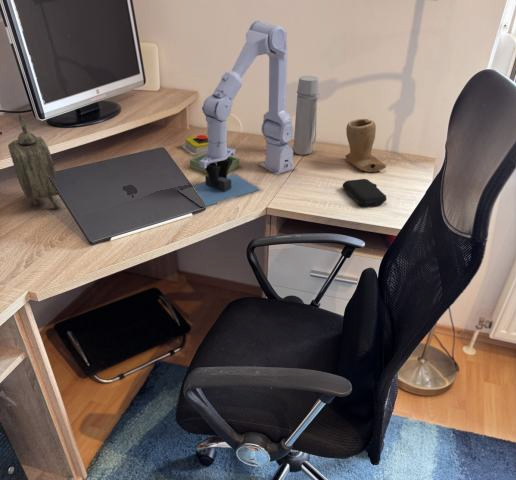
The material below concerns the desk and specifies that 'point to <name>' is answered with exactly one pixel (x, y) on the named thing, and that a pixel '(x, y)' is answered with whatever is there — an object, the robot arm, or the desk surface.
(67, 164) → the desk surface
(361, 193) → the carrying case
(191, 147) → the emergency button
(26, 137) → the ribbed olive figurine
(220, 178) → the remote
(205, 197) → the mat
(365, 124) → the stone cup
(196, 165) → the caddy
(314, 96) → the water bottle
